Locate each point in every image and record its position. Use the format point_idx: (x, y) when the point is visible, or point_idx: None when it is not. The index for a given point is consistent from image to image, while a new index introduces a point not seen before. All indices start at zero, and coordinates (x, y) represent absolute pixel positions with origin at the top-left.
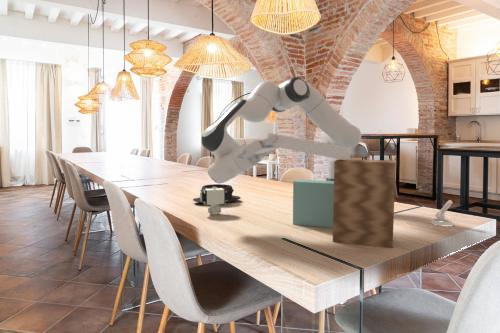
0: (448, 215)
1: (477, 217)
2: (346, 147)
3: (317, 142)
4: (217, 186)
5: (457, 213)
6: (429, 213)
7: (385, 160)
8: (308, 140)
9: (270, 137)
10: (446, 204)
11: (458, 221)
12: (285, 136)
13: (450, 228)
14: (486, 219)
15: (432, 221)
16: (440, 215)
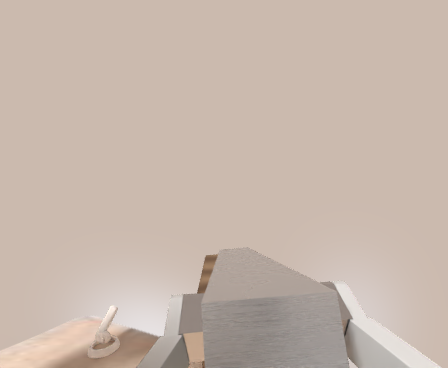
0: (44, 344)
1: (68, 323)
2: (232, 249)
3: (254, 252)
4: None
5: (34, 337)
6: (17, 363)
7: (207, 259)
8: (236, 257)
9: (362, 312)
10: (113, 313)
11: (88, 336)
12: (267, 267)
13: (130, 341)
14: (81, 318)
15: (101, 352)
16: (109, 334)
